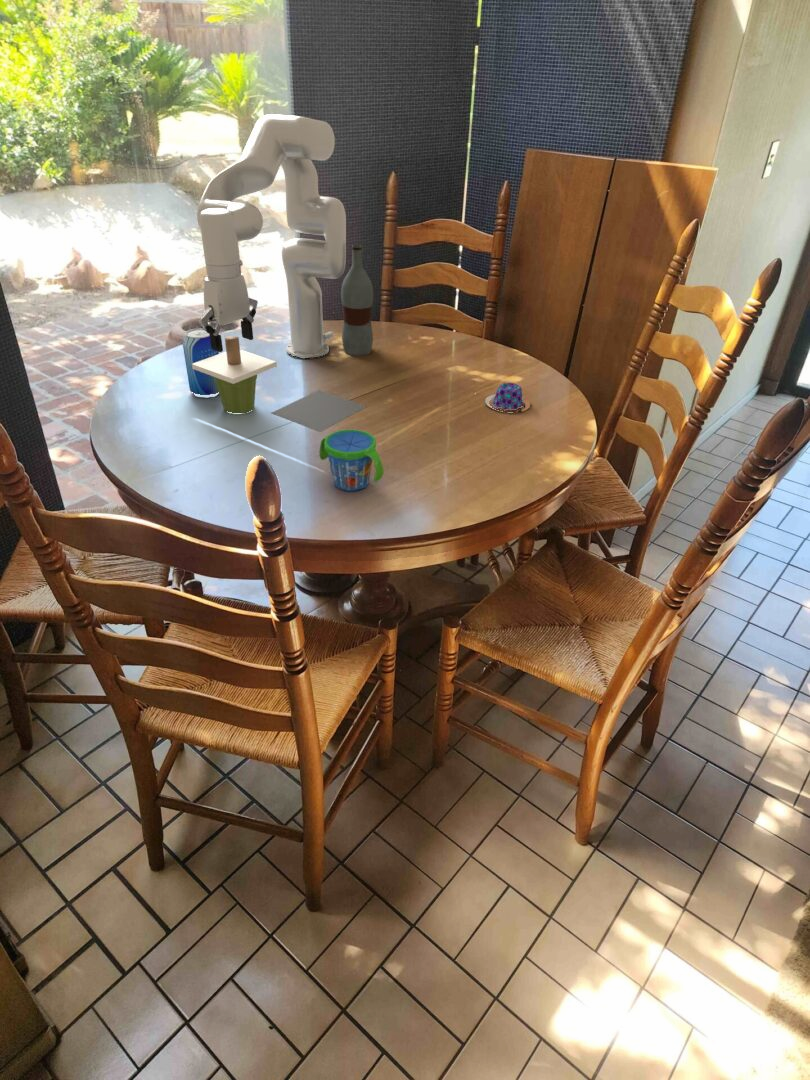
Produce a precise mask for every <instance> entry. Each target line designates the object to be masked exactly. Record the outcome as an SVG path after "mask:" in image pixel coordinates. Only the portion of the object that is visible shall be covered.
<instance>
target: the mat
mask: <svg viewBox="0 0 810 1080" xmlns="http://www.w3.org/2000/svg"><path fill="white" fill-rule="evenodd" d="M367 407H368V406H366V405H363V404H360V403H358V402H355V401H352V400H349V399H346V398H344V397H341V396H338V395H334V394H333V393H329V392H326V391H322V389H321V390H320V389H319V390H316V391H314V392H312V393H310V394H307V395H306V396H303V397H301V398H300V399H297V400H295V401H293V402H291V403H288V404H287V405H285V406H283V407H279V408H278V409H276V410H274V411H272V412H271V415H272V414H273V415H275V416H278V417H280V418H283V419H285V420H287V421H290V422H294V423H296V424H298V425H301V426H303V427H306V428H309V429H311V430H315V431H316V432H323V431H324V430H325V429H328V428H330V427H332V426H333V425H335V424H337V423H339V422H341V421H343V420H344V419H346V418H347V419H348V417H350V416H352V415H354V414H356V413H358V412H359V411H362V410H364V409H366V408H367Z"/></svg>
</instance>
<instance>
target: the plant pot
mask: <svg viewBox="0 0 810 1080" xmlns="http://www.w3.org/2000/svg"><path fill="white" fill-rule="evenodd" d="M257 378H258V374H257V375H254V376H252V377H249V378H247V379H244V380H242V381H240V382H237V383H235V384H232V383H229V382H227V381H224V380H221V379H219V378H216V377H214V380H215V382H216V384H217V387H218V391H219V396H220V401H221V403H222V407H223V410H224V409H225V410H226V411H228V412H232V413H247V412H249V411H251V410H253V409H254V410H255V400H256V387H257V386H256V384H257ZM225 410H224V411H225ZM254 410H253V411H254ZM247 414H248V413H247Z"/></svg>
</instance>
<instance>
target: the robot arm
mask: <svg viewBox="0 0 810 1080" xmlns="http://www.w3.org/2000/svg"><path fill="white" fill-rule="evenodd" d="M335 140H336V138H335V134H334V131H333V128H332V126H331V125H330V124H329V123H328V122H327V121H325V120H324V121H323V120H318V119H315V118H311V117H307V116H299V115H285V114H273V113H272V114H271V113H270V114H265V115H263V116H261V117H259V118H258V120H257V121H256V123H255V125H254V127H253V129H252V131H251V134H250V136H249V138H248V140H247V142H246V145H245V147H244V149H243V151H242V153H241V156H240V157H239V158H240V159H238V160H237V161H236V162H234V163H232V164H230V165H229V166H227V167H226V168H225V169H223V170H222V171H220V172H219V173H218V174H216V175H215V176H214V177H212V179H211V180H210V181H209V183H208V184H207V185H206V187H205V189H204V191H203V193H202V195H201V197H200V200H199V203H198V206H197V211H196V217H197V218H196V219H197V223H198V227H199V228H200V234H201V240H202V249H203V256H204V261H205V262H204V264H205V268H206V269H205V270H206V277H204V282H203V304H204V312H202V314H200V316H199V317H198V318H197V322H198V323H199V325H200V327H201V328H202V329H204V330H205V331H206V332H207V333H208V334H209V335H210V342H211V348H212V349H213V350H215V351H218V352H219V353H223V351H224V347H223V340H222V335H221V334H220V332H221V328H222V326H225V325H229V324H231V323H234V322H237V321H239V320H240V330H241V337H242V338H244V339H245V340H246V339H247V340H249V341H254V332H253V323H254V320H255V319H254V318H255V316H256V313H257V308H258V304H259V303H258V302H259V301H258V299H257V300H256V299H254V298H251V297H249V293H248V287H247V283H246V280H245V276H244V274H243V273H242V266H243V265H244V264H243V261H242V260H241V258H240V249H239V242H241V241H249V240H252V239H255V238H257V237H258V235H259V234H260V233H261V231H262V229H263V225H264V221H263V214H262V213H261V210H260V209H259V208H258V207H257V206H256V205H254V204H252V203H248V202H245V201H244V202H243V201H234V200H235V199H238V198H240V197H242V196H243V197H244V196H246V195H250V194H254V193H257V192H260V191H263V190H265V189H267V188H269V187H271V186H272V185H273V183H274V181H275V179H276V176H277V174H278V172H279V169H280V167H282V170H283V173H284V180H285V181H284V183H285V207H286V208H285V210H286V211H285V213H286V222H287V225H288V227H289V229H290V230H291V231H293V232H296V233H301V234H306V235H314V236H323V237H324V240H321V239H315V238H306V237H305V238H304V237H303V238H302V237H294V238H290V239H288V240H287V241H286V242H285V243H284V244H283V246H282V251H281V259H282V264H283V265H282V266H283V269H284V273H285V277H286V284H287V285H286V286H287V295H288V299H287V300H288V311H289V312H288V313H289V314H288V315H289V328H290V329H289V330H290V331H289V332H290V343H289V344H287V346H285V351H286V350H287V352H288V353H289V354H291V355H294V356H297V357H305V358H306V357H318V358H320V357H319V356H322V357H324V356H326V355H327V354H328V353H329V351H330V347H329V344H326V342H327V341H328V340H329V339H332V338H333V337H334V334H333V332H332V331H328V332H325V333H324V319H323V317H324V316H323V298H322V297H323V292H322V288H321V286H320V284H319V282H318V280H317V278H321V279H330V280H336V279H337V280H338V279H339V278H341V277H342V276H343V274H344V272H345V269H346V263H347V262H346V261H347V259H346V258H347V257H346V255H347V254H346V253H347V250H346V249H347V215H346V209H345V206H344V204H343V202H342V201H341V200H340V199H338V198H336V197H332V196H326V195H325V196H323V195H320V193H319V177H318V172H317V169H316V167H315V164H314V163H313V161H321V162H322V161H324V162H325V161H328V160H329V159H330V158H331V157H332V155H333V153H334V151H335V145H336V144H335V142H336V141H335ZM287 352H286V353H287ZM288 353H287V354H288ZM289 354H288V355H289ZM325 354H326V355H325ZM291 355H290V356H291ZM323 355H324V356H323ZM297 357H296V358H297ZM305 358H304V359H305Z"/></svg>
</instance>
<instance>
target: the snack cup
mask: <svg viewBox="0 0 810 1080" xmlns="http://www.w3.org/2000/svg"><path fill="white" fill-rule="evenodd" d="M376 448H377V440H376V437H375V436H374V435H372V434H371V433H369V432H367V431H364V430H359V429H342V430H338V431H334V432H332V433H330V434H329V435H327V436H325V437H323V438H322V439H321V441H320V446H319V451H318V452H319V459H321V460H322V461H324V460H326V459H328V463H329V468H330V473H331V478H332V482H333V485H334V486H335V487H337V488H338V489H339V490H344V491H346V492H353V491H359V490H362V489H365V488H366V487H367V486H368V484H369V482H370V478H371V471H372V465H374V468H375V472H374V476H373V482H379V481H380V480H381V479H382V478H383V475H384V467H383V463H382V458H381V456H380V454H379V452H378V451H377V449H376Z"/></svg>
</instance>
